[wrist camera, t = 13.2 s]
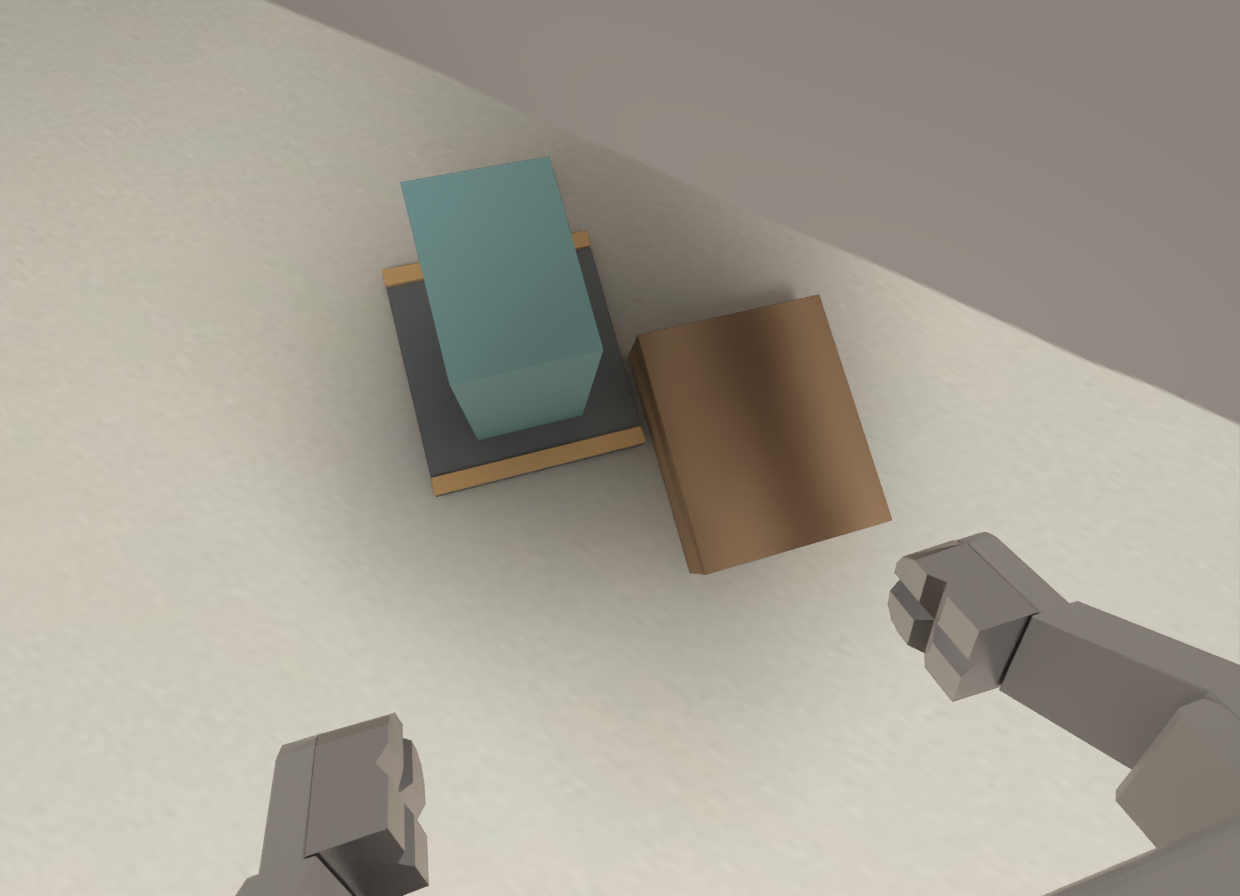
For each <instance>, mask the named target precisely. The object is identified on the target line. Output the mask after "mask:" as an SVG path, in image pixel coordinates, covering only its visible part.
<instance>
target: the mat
mask: <svg viewBox="0 0 1240 896" xmlns="http://www.w3.org/2000/svg"><path fill="white" fill-rule="evenodd" d="M571 236H572V239H573V243H574V246H575V250H576V254H577V257H578V261H579V264H580V268H581V272H582V275H583V279H584V283H585V286H586V290H587V293H588V297H589V301H590V304H591V308H592V311H593V315H594V319H595V322H596V326H597V329H598V333H599V337H600V340H601V344H602V347H603V352H602V355H601V359H600V362H599V365H598V368H597V371H596V374H595V377H594V381H593V384H592V387H591V390H590V393H589V396H588V399H587V402H586V406H585V409H584V412H583V415H582V416H578V417H573V418H569V419H565V420H561V421H557V422H553V423H549V424H545V425H540V426H536V427H532V428H528V429H524V430H520V431H516V432H511V433H507V434H503V435H499V436H495V437H491V438H487V439H483V440H478V439H477V437H476V435H475V434H474V432H473V430H472V428H471V426H470V424H469V422H468V420H467V418H466V416H465V414H464V412H463V410H462V408H461V406H460V404H459V402H458V400H457V398H456V396H455V394H454V392H453V391H452V389H451V387H450V385H449V380H448V376H447V372H446V368H445V364H444V360H443V356H442V352H441V348H440V343H439V339H438V335H437V331H436V327H435V323H434V319H433V315H432V311H431V307H430V302H429V298H428V294H427V290H426V286H425V282H424V278H423V274H422V270H421V265H420V263H415V264H410V265H405V266H400V267H395V268H390V269H384V270H382V274H383V278H384V282H385V286H386V288H387V293H388V297H389V301H390V305H391V310H392V314H393V318H394V322H395V327H396V331H397V335H398V339H399V344H400V348H401V352H402V356H403V361H404V365H405V369H406V374H407V378H408V382H409V386H410V391H411V395H412V399H413V403H414V408H415V412H416V416H417V420H418V425H419V429H420V433H421V437H422V442H423V446H424V450H425V454H426V459H427V463H428V467H429V471H430V476H431V482H432V487H433V491H434V495H435V496H437V497H438V496H442V495H445V494H449V493H453V492H457V491H461V490H465V489H469V488H473V487H477V486H481V485H485V484H489V483H493V482H497V481H501V480H505V479H509V478H513V477H517V476H521V475H525V474H528V473H532V472H536V471H540V470H544V469H548V468H552V467H556V466H560V465H564V464H568V463H572V462H576V461H580V460H584V459H588V458H592V457H596V456H600V455H604V454H608V453H612V452H615V451H619V450H623V449H627V448H631V447H635V446H639V445H643V444H644V443H645V438H644V435H643V431H642V427H641V426H640V423H639V420H638V416H637V413H636V409H635V406H634V402H633V398H632V395H631V391H630V388H629V384H628V381H627V377H626V373H625V370H624V366H623V363H622V359H621V356H620V352H619V348H618V345H617V341H616V338H615V334H614V331H613V327H612V323H611V320H610V316H609V313H608V309H607V306H606V302H605V298H604V295H603V291H602V288H601V284H600V281H599V277H598V273H597V270H596V266H595V263H594V259H593V256H592V252H591V248H590V242H589V238H588V235H587V231H586V230H585V231H580V232H575V233H571Z"/></svg>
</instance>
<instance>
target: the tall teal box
mask: <svg viewBox="0 0 1240 896" xmlns="http://www.w3.org/2000/svg"><path fill="white" fill-rule="evenodd" d="M400 183H401V188H402V192H403V196H404V200H405V204H406V208H407V212H408V216H409V220H410V224H411V229H412V233H413V237H414V241H415V245H416V249H417V253H418V257H419V261H420V265H421V270H422V274H423V278H424V282H425V286H426V290H427V294H428V298H429V302H430V307H431V311H432V315H433V319H434V323H435V327H436V331H437V335H438V339H439V343H440V348H441V352H442V356H443V360H444V364H445V368H446V372H447V376H448V380H449V385H450V387H451V389H452V391H453V392H454V394H455V396H456V398H457V400H458V402H459V404H460V406H461V408H462V410H463V412H464V414H465V416H466V418H467V420H468V422H469V424H470V426H471V428H472V430H473V432H474V434H475V435H476V437H477V439H478V440H483V439H487V438H491V437H495V436H499V435H503V434H507V433H511V432H516V431H520V430H524V429H528V428H532V427H536V426H540V425H545V424H549V423H553V422H557V421H561V420H565V419H569V418H573V417H578V416H582V415H583V412H584V409H585V406H586V402H587V399H588V396H589V393H590V390H591V387H592V384H593V381H594V377H595V374H596V371H597V368H598V365H599V362H600V359H601V355H602V352H603V347H602V344H601V340H600V337H599V333H598V329H597V326H596V322H595V319H594V315H593V311H592V308H591V304H590V301H589V297H588V293H587V290H586V286H585V283H584V279H583V275H582V272H581V268H580V264H579V261H578V257H577V254H576V250H575V246H574V243H573V239H572V236H571V232H570V228H569V225H568V221H567V218H566V214H565V210H564V207H563V203H562V200H561V196H560V192H559V189H558V185H557V181H556V178H555V174H554V171H553V167H552V163H551V160H550V156H548V157H543V158H537V159H531V160H525V161H520V162H514V163H508V164H502V165H497V166H491V167H485V168H479V169H474V170H468V171H462V172H456V173H450V174H445V175H439V176H433V177H427V178H422V179H416V180H410V181H404V182H400Z"/></svg>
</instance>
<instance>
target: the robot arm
mask: <svg viewBox="0 0 1240 896" xmlns="http://www.w3.org/2000/svg"><path fill="white" fill-rule="evenodd" d="M894 573H895V574H896V575H897V576H898V578H899V579H900V580H899V581H898V582H897V583H896V585H895V586H894V587H893V588H892V589H891V590H890V594H889V600H888V608H889V612H890V616H891V620H892V622H893V624H894V626H895V628H896V630H897V632H898V633H899V634H900V636H901V637H902V638H903V640H904V641H905V642H906V644H907V645H909V646H911V647H913V648H915V649H917V650H919V651H921V652H923V653H924V655H925V668H926V669H927V671H928V672H929V673H930V674H931V676H932V677H933V678H934V680H935V681H936V682H937V683H938V685H939V686H940V687H941V688H942V690H943V691H944V692H945V694H946V695H947V696H948V697H949V699H950V700H951V701H952V702H954V701H957V700H960V699H963V698H966V697H969V696H973V695H976V694H979V693H982V692H985V691H988V690H991V689H995V688H998V687H1000V689H999V690H1000V691H1002V692H1003V693H1005V694H1007V695H1008V696H1010V697H1012V698H1013V699H1015V700H1017V701H1018V702H1020V703H1022V704H1023V705H1025V706H1027V707H1028V708H1030V709H1032V710H1033V711H1035V712H1037V713H1038V714H1040V715H1042V716H1043V717H1045V718H1047V719H1048V720H1050V721H1052V722H1053V723H1055V724H1057V725H1058V726H1060V727H1062V728H1063V729H1065V730H1067V731H1068V732H1070V733H1072V734H1073V735H1075V736H1077V737H1078V738H1080V739H1082V740H1083V741H1085V742H1087V743H1088V744H1090V745H1092V746H1093V747H1095V748H1097V749H1098V750H1100V751H1102V752H1103V753H1105V754H1107V755H1108V756H1110V757H1112V758H1113V759H1115V760H1117V761H1118V762H1120V763H1122V764H1123V765H1125V766H1127V767H1128V768H1130V769H1132V770H1131V771H1130V772H1129V774H1128V775H1127V776H1126V778H1125V779H1124V780H1123V782H1122V783H1121V784H1120V785H1119V787H1118V788H1117V789H1116V802H1117V803H1118V804H1119V805H1120V806H1121V807H1122V808H1123V810H1124V811H1125V812H1126V813H1127V814H1128V815H1129V816H1130V818H1131V819H1132V820H1133V821H1134V822H1135V823H1136V825H1137V826H1138V827H1139V828H1140V829H1141V830H1142V831H1143V833H1144V834H1145V835H1146V836H1147V837H1148V838H1149V839H1150V841H1151V842H1152V843H1153V844H1154V845H1155V846H1156V848H1155V849H1153V850H1150V851H1148V852H1146V853H1143V854H1141V855H1138V856H1136V857H1134V858H1131V859H1129V860H1126V861H1124V862H1122V863H1119V864H1117V865H1114V866H1112V867H1110V868H1107V869H1105V870H1103V871H1100V872H1098V873H1095V874H1093V875H1091V876H1088V877H1086V878H1083V879H1081V880H1079V881H1076V882H1074V883H1071V884H1069V885H1067V886H1064V887H1062V888H1059V889H1057V890H1055V891H1052V892H1050V893H1048V894H1045V895H1043V896H1240V665H1239V664H1236V663H1233V662H1231V661H1228V660H1226V659H1223V658H1221V657H1218V656H1216V655H1213V654H1211V653H1208V652H1206V651H1203V650H1200V649H1198V648H1195V647H1193V646H1190V645H1188V644H1185V643H1183V642H1180V641H1178V640H1175V639H1173V638H1170V637H1167V636H1165V635H1162V634H1160V633H1157V632H1155V631H1152V630H1150V629H1147V628H1145V627H1142V626H1140V625H1137V624H1134V623H1132V622H1129V621H1127V620H1124V619H1122V618H1119V617H1117V616H1114V615H1112V614H1109V613H1107V612H1104V611H1101V610H1099V609H1096V608H1094V607H1091V606H1089V605H1086V604H1084V603H1081V602H1079V601H1076V602H1072V603H1068V602H1067V601H1066V600H1065V599H1064V598H1063V597H1062V596H1061V595H1059V594H1058V593H1057V592H1056V591H1055V590H1054V589H1053V588H1052V587H1051V586H1050V585H1048V584H1047V583H1046V582H1045V581H1044V580H1043V579H1042V578H1041V577H1040V576H1039V575H1038V574H1036V573H1035V572H1034V571H1033V570H1032V569H1031V568H1030V567H1029V566H1028V565H1027V564H1025V563H1024V562H1023V561H1022V560H1021V559H1020V558H1019V557H1018V556H1017V555H1016V554H1014V553H1013V552H1012V551H1011V550H1010V549H1009V548H1008V547H1007V546H1006V545H1005V544H1003V543H1002V542H1001V541H1000V540H999V539H998V538H997V537H995V536H994V535H992V534H990V533H987V532H982V533H977V534H974V535H971V536H968V537H965V538H962V539H959V540H956V541H954V540H952V541H949V542H946V543H943V544H940V545H937V546H934V547H931V548H928V549H925V550H922V551H919V552H915V553H912V554H909V555H906V556H903V557H902V558H901V559H900V560H899V561H898V562H897V564H896V568H895V572H894ZM425 804H426V802H425V785H424V778H423V772H422V767H421V762H420V759H419V756H418V753H417V750H416V748H415V746H414V744H413V742H412V741H411V740H408V739H405V738H403V724H402V723H401V721H400V720H399V718H398V717H397V715H396V713H391V714H388V715H384V716H381V717H378V718H374V719H371V720H367V721H364V722H360V723H357V724H354V725H350V726H347V727H343V728H340V729H336V730H333V731H330V732H326V733H321V734H318V735H315V736H311V737H308V738H305V739H302V740H298V741H295V742H292V743H288V744H285V745H282V747H281V749H280V752H279V754H278V756H277V758H276V762H275V768H274V775H273V782H272V788H271V795H270V802H269V808H268V815H267V822H266V829H265V835H264V842H263V849H262V855H261V862H260V869H259V874H257V875H254V876H252V877H249V878H247V879H246V880H245V882H244V883H243V885H242V886H241V888H240V890H239V891H238V893H237V894H236V896H403V895H406V894H408V893H411V892H414V891H416V890H419V889H422V888H424V887H427V886H429V876H428V849H427V835H426V833H425V832H424V830H423V829H422V827H421V825H420V824H419V822H418V820H417V819H418V817H419V815H420V814H421V812H422V810H423V808H424V806H425Z"/></svg>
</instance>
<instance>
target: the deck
mask: <svg viewBox="0 0 1240 896" xmlns="http://www.w3.org/2000/svg"><path fill="white" fill-rule="evenodd" d="M629 359H630V362H631V366H632V369H633V373H634V376H635V380H636V383H637V387H638V391H639V394H640V398H641V401H642V405H643V408H644V412H645V415H646V419H647V422H648V426H649V430H650V433H651V437H652V440H653V444H654V447H655V451H656V454H657V458H658V462H659V465H660V469H661V472H662V476H663V479H664V483H665V486H666V490H667V493H668V497H669V501H670V504H671V508H672V511H673V515H674V518H675V522H676V525H677V529H678V533H679V536H680V540H681V543H682V547H683V550H684V554H685V557H686V561H687V564H688V568H689V572H690V573H695V574H704V575H706V574H710V573H713V572H717V571H720V570H724V569H727V568H730V567H734V566H737V565H741V564H744V563H748V562H751V561H754V560H758V559H761V558H765V557H768V556H772V555H775V554H778V553H782V552H785V551H789V550H792V549H796V548H799V547H802V546H806V545H809V544H813V543H816V542H820V541H823V540H826V539H830V538H833V537H837V536H840V535H844V534H847V533H850V532H854V531H857V530H861V529H864V528H868V527H871V526H874V525H878V524H881V523H885V522H888V521H891V520H892V518H891V515H890V512H889V508H888V505H887V502H886V499H885V496H884V493H883V490H882V487H881V484H880V481H879V478H878V475H877V472H876V468H875V465H874V462H873V459H872V456H871V453H870V450H869V447H868V444H867V441H866V438H865V435H864V432H863V429H862V425H861V422H860V419H859V416H858V413H857V410H856V407H855V404H854V401H853V398H852V395H851V392H850V389H849V385H848V382H847V379H846V376H845V373H844V370H843V367H842V364H841V361H840V358H839V355H838V352H837V349H836V345H835V342H834V339H833V336H832V333H831V330H830V327H829V324H828V321H827V318H826V315H825V312H824V309H823V305H822V302H821V299H820V296H819V295H815V296H810V297H806V298H801V299H797V300H792V301H788V302H783V303H779V304H774V305H770V306H765V307H761V308H757V309H752V310H748V311H743V312H739V313H734V314H730V315H725V316H721V317H716V318H712V319H707V320H703V321H698V322H694V323H690V324H685V325H681V326H676V327H672V328H667V329H663V330H658V331H654V332H649V333H645V334H640V335H638V336H637V338H636V340H635V342H634V344H633V347H632V349H631V351H630V353H629Z"/></svg>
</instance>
